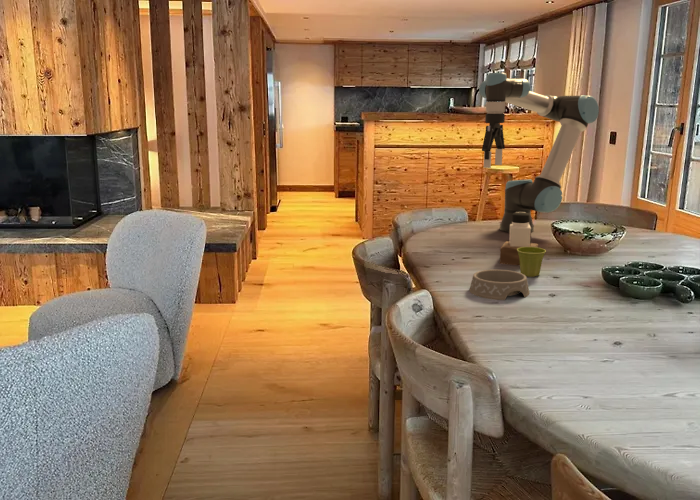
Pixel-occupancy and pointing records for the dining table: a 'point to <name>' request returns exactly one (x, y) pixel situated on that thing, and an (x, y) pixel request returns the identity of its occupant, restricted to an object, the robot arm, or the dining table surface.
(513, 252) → the walnut box
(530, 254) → the plant pot
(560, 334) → the dining table surface
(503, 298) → the dog bowl
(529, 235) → the medicine bottle
